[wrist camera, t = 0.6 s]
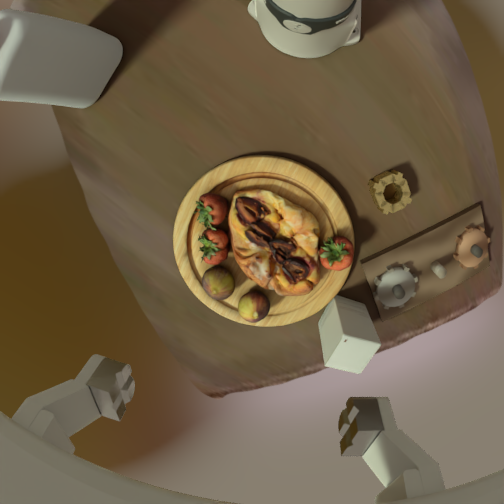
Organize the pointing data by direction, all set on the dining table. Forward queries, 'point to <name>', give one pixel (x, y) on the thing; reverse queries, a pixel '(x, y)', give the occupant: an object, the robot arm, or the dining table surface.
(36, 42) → the plastic bottle
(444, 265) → the gear board
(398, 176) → the brass gear
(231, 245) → the wooden plate with food
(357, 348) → the supplement box
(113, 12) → the dining table surface
